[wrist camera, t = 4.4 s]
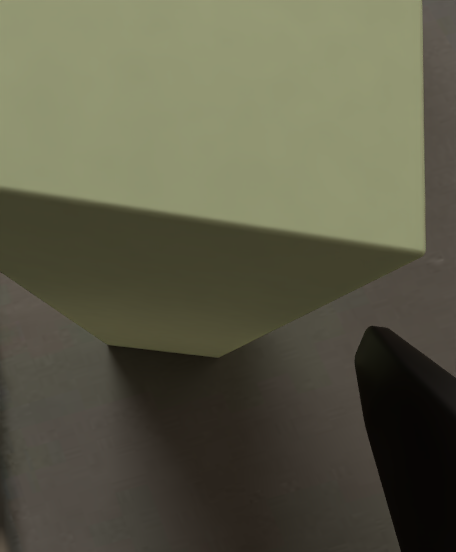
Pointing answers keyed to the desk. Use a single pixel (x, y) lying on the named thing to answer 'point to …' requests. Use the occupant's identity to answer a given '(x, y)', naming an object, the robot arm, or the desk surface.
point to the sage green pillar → (207, 160)
